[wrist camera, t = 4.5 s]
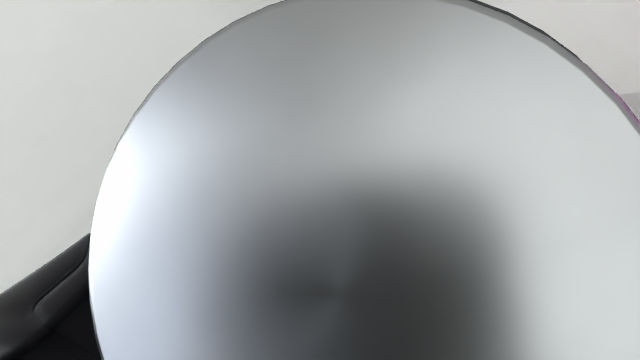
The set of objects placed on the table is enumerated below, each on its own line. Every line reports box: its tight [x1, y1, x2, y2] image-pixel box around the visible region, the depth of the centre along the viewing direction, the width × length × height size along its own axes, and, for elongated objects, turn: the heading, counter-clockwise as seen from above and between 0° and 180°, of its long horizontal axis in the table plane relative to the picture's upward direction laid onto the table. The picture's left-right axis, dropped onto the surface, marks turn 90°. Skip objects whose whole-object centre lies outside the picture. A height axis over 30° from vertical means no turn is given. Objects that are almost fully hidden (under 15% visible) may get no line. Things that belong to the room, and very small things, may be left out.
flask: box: [88, 0, 640, 360], centre depth 9 cm, size 6×6×13 cm
